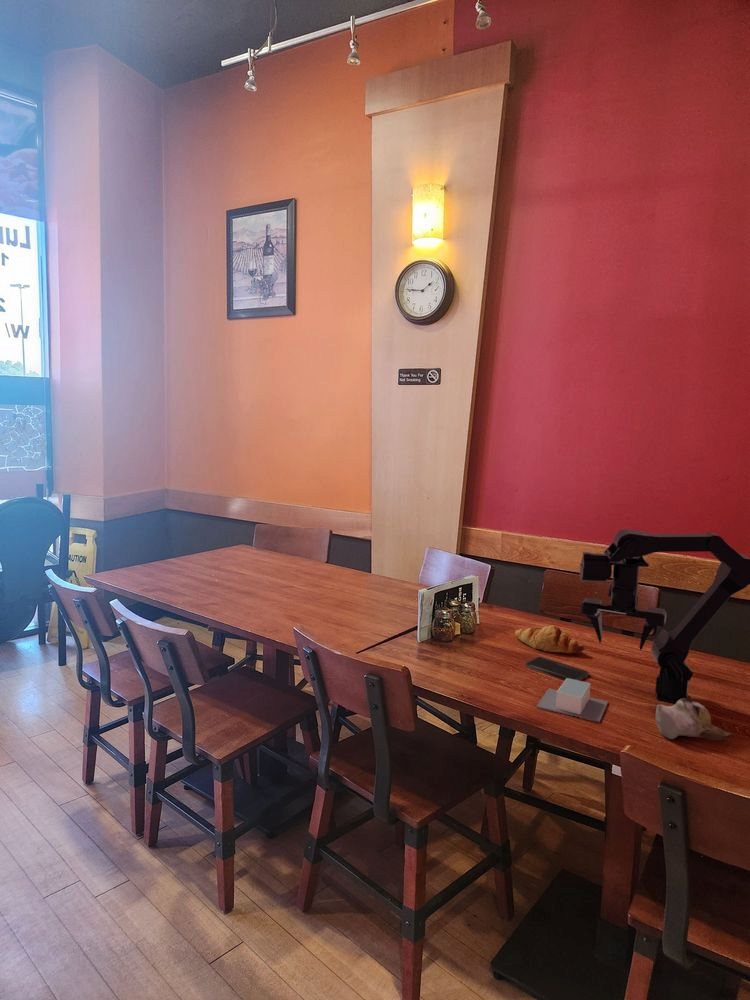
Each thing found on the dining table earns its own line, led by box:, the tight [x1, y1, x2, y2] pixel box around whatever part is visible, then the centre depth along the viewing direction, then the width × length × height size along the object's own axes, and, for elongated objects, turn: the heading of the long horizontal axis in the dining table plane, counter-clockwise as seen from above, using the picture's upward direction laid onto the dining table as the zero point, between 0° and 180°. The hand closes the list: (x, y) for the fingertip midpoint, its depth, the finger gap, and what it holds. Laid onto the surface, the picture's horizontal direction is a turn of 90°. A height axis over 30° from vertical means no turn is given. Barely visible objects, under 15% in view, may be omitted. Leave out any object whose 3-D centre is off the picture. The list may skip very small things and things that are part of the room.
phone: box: [525, 656, 590, 681], centre depth 172 cm, size 8×1×15 cm
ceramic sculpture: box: [655, 697, 734, 741], centre depth 139 cm, size 11×9×15 cm
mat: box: [536, 688, 609, 724], centre depth 153 cm, size 14×11×1 cm
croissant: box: [514, 624, 585, 654], centre depth 189 cm, size 21×10×8 cm, turn 51°
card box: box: [556, 678, 591, 714], centre depth 152 cm, size 9×6×4 cm, turn 150°
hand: (620, 645), depth 158 cm, fingers open, 9 cm apart
